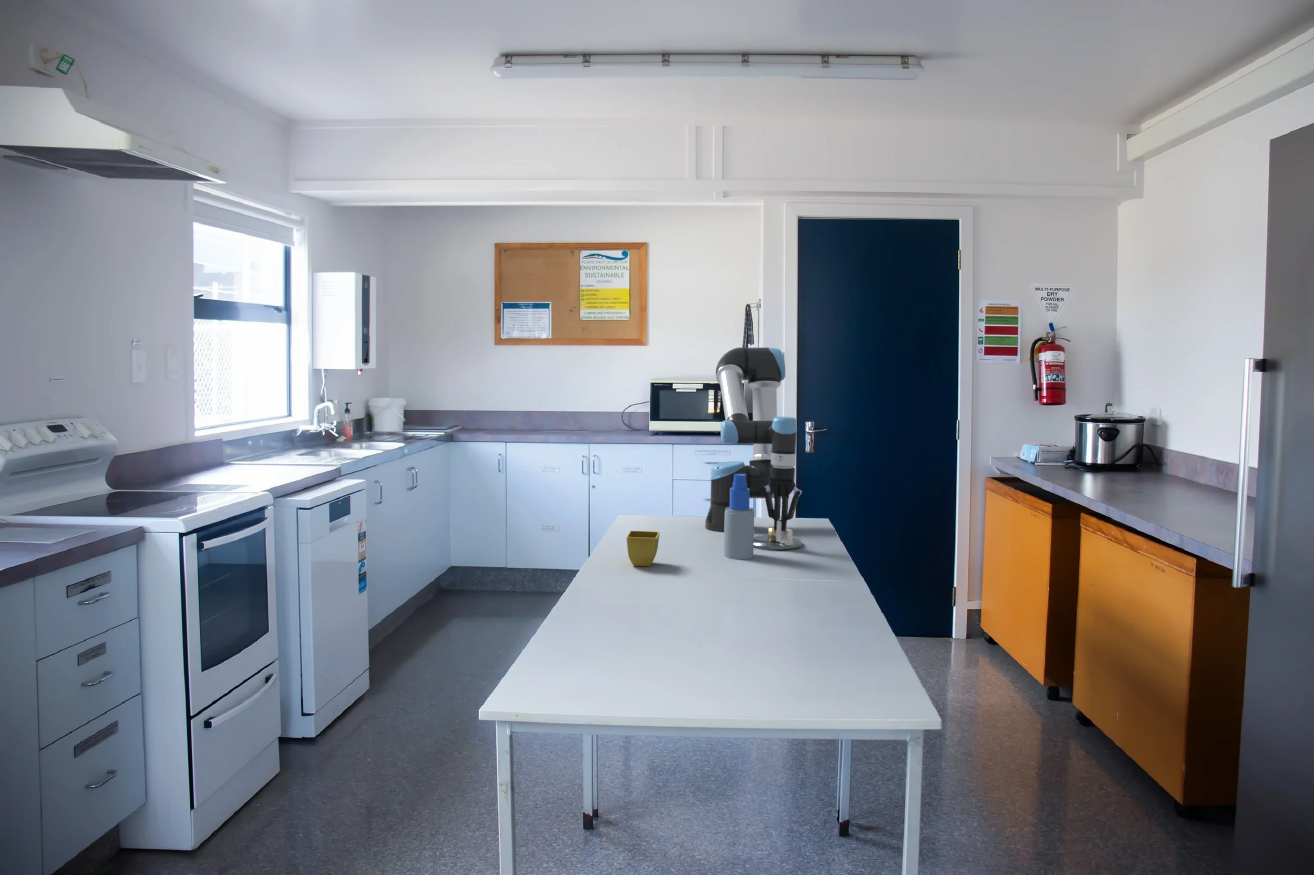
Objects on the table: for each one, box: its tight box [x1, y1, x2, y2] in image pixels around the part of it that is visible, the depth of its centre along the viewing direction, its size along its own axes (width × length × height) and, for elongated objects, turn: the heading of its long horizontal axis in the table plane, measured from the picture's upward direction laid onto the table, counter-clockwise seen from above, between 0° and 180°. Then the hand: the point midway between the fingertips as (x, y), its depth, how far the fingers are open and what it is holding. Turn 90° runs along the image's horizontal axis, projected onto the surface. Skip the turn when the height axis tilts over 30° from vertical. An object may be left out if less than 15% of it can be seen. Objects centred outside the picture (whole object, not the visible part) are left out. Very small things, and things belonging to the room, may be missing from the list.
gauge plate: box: [753, 534, 802, 552], centre depth 261 cm, size 17×17×1 cm
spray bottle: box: [723, 474, 755, 560], centre depth 245 cm, size 9×9×25 cm
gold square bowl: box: [626, 530, 661, 567], centre depth 234 cm, size 9×9×9 cm
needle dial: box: [767, 525, 794, 545], centre depth 258 cm, size 11×4×5 cm, turn 26°
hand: (779, 540), depth 254 cm, fingers closed
